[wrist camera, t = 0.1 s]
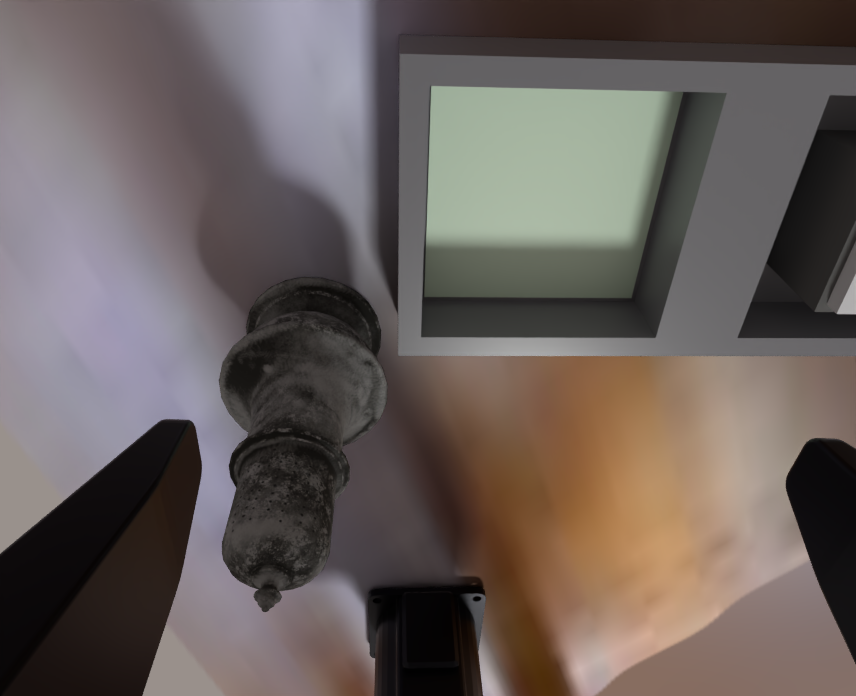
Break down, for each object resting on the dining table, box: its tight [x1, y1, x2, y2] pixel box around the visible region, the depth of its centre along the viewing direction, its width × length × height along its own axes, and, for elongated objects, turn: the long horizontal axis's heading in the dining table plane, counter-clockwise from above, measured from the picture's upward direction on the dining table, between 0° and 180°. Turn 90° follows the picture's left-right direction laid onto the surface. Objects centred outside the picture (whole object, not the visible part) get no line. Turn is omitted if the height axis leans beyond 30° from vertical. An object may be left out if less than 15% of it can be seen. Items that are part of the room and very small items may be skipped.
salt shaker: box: [219, 277, 387, 612], centre depth 21 cm, size 6×6×12 cm
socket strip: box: [398, 35, 856, 356], centre depth 22 cm, size 10×21×3 cm, turn 88°
